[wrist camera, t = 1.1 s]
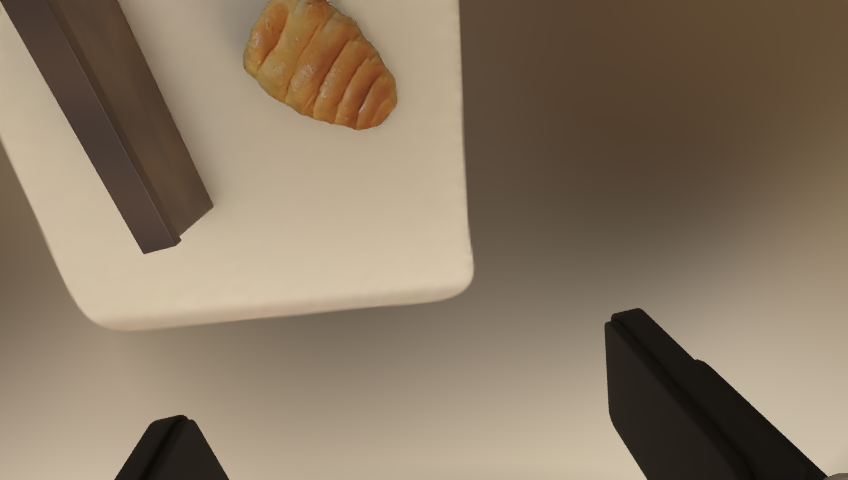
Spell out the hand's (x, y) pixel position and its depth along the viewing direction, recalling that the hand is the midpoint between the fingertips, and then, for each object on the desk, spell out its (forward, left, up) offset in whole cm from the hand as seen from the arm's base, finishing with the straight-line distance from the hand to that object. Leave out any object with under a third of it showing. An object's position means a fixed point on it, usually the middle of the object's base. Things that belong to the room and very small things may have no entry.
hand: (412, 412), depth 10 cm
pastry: (-8, -2, -24) cm, 25 cm away
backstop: (-8, -15, -23) cm, 29 cm away
